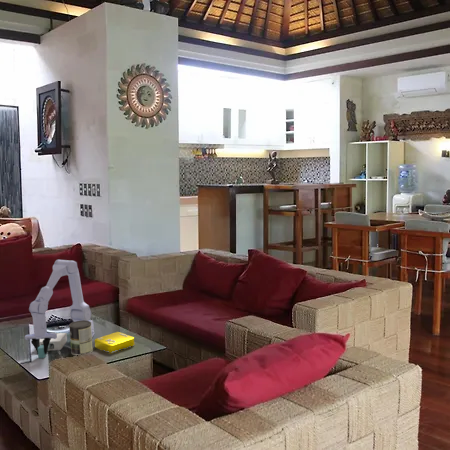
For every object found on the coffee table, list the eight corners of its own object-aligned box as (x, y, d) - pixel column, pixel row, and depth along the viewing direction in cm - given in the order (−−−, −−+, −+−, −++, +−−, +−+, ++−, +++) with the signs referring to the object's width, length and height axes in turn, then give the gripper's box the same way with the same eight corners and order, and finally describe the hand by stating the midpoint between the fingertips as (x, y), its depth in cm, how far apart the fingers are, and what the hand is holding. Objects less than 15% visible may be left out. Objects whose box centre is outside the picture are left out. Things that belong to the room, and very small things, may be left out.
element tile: (136, 346, 276) (135, 336, 275) (110, 354, 265) (110, 345, 264) (118, 339, 286) (118, 330, 285) (93, 347, 276) (92, 338, 275)
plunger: (56, 336, 282) (55, 332, 281) (54, 338, 279) (54, 334, 278) (50, 336, 282) (49, 332, 281) (48, 338, 279) (48, 334, 278)
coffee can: (69, 356, 264) (66, 327, 262) (73, 348, 274) (71, 321, 272) (91, 355, 265) (89, 326, 263) (94, 347, 275) (92, 319, 273)
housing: (43, 342, 284) (42, 333, 284) (67, 341, 285) (66, 332, 284) (35, 350, 273) (35, 342, 272) (60, 350, 273) (59, 341, 272)
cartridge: (47, 347, 276) (46, 337, 276) (53, 347, 276) (52, 337, 276) (38, 358, 262) (37, 348, 262) (44, 357, 262) (43, 348, 262)
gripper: (21, 329, 258) (24, 357, 260) (52, 328, 258) (55, 356, 260) (26, 324, 265) (29, 351, 267) (57, 323, 265) (59, 350, 267)
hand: (42, 353), depth 264 cm, fingers closed on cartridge, 3 cm apart
